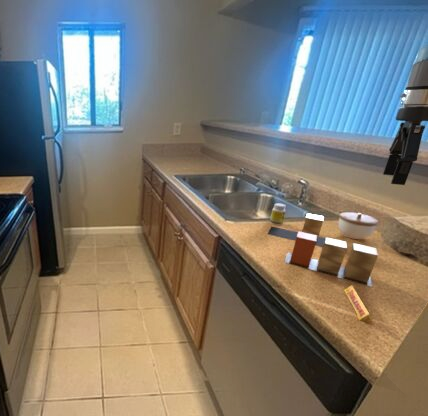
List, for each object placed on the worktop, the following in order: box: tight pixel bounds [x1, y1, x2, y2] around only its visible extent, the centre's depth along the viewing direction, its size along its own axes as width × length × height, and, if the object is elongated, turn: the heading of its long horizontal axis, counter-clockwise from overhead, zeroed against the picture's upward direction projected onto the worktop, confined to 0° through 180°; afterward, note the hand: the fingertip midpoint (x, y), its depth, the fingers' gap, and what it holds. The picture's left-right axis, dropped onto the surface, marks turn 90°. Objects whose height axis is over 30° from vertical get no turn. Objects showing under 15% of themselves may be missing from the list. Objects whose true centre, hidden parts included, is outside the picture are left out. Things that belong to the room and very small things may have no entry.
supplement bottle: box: [269, 202, 286, 226], centre depth 116 cm, size 5×5×8 cm
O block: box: [301, 213, 325, 243], centre depth 101 cm, size 5×5×9 cm
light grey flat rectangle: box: [284, 252, 373, 288], centre depth 85 cm, size 21×8×1 cm, turn 51°
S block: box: [290, 231, 317, 267], centre depth 88 cm, size 5×5×9 cm
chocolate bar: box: [344, 284, 374, 324], centre depth 70 cm, size 3×12×2 cm, turn 155°
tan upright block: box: [317, 236, 348, 275], centre depth 83 cm, size 5×5×9 cm
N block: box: [344, 242, 379, 283], centre depth 80 cm, size 5×5×9 cm
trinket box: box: [337, 212, 379, 240], centre depth 103 cm, size 11×11×9 cm
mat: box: [267, 225, 326, 248], centre depth 105 cm, size 18×9×1 cm, turn 51°
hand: (392, 179), depth 85 cm, fingers open, 13 cm apart
